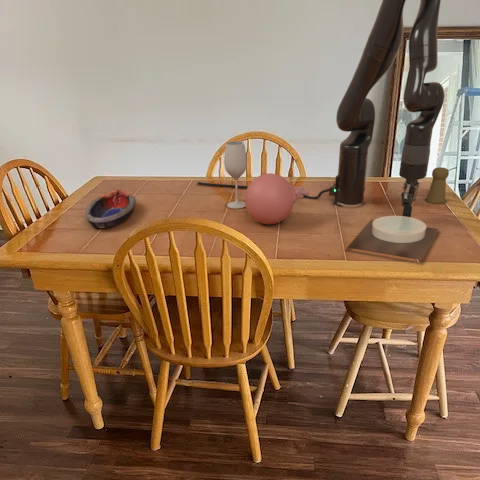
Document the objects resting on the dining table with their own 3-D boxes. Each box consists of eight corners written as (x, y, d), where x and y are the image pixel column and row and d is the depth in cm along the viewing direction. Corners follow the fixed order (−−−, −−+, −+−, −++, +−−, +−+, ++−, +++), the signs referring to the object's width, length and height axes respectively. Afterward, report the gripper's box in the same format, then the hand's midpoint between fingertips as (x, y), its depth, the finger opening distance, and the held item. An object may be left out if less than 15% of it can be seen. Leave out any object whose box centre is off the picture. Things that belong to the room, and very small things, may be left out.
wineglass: (222, 207, 173) (219, 145, 162) (231, 200, 179) (228, 140, 168) (243, 209, 170) (241, 146, 159) (251, 202, 176) (249, 141, 165)
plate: (365, 238, 143) (365, 229, 141) (379, 221, 154) (380, 212, 152) (418, 246, 136) (420, 237, 135) (429, 228, 147) (431, 219, 146)
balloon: (309, 231, 151) (312, 181, 143) (244, 232, 153) (242, 182, 145) (307, 214, 164) (309, 167, 156) (246, 214, 166) (245, 168, 158)
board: (346, 250, 138) (347, 247, 138) (371, 222, 156) (371, 219, 155) (421, 263, 130) (421, 260, 129) (438, 232, 147) (438, 228, 147)
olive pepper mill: (446, 203, 168) (452, 170, 162) (427, 203, 169) (432, 170, 164) (443, 197, 173) (449, 165, 167) (425, 197, 174) (430, 165, 169)
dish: (76, 232, 157) (72, 217, 154) (103, 201, 183) (100, 188, 180) (124, 232, 156) (122, 216, 153) (145, 200, 182) (143, 187, 180)
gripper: (406, 153, 149) (399, 209, 158) (395, 164, 139) (388, 223, 148) (432, 155, 145) (423, 212, 154) (423, 166, 136) (414, 227, 145)
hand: (406, 217), depth 151 cm, fingers closed
